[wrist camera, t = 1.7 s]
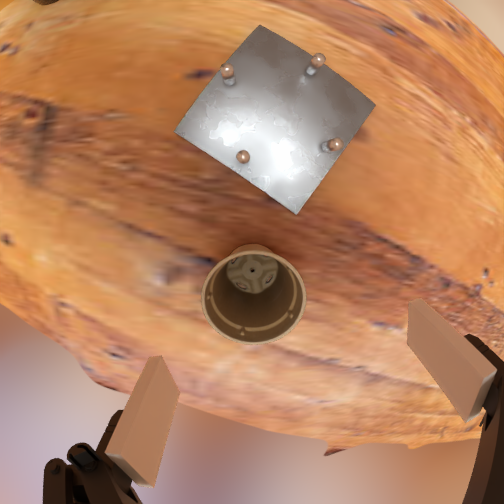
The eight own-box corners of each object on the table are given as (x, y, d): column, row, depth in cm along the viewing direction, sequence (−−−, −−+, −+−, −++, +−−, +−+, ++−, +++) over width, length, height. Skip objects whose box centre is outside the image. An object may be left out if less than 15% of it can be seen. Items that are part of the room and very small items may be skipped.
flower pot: (300, 235, 32) (317, 259, 24) (285, 309, 35) (294, 349, 26) (218, 223, 32) (206, 243, 23) (209, 299, 34) (197, 338, 26)
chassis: (176, 133, 29) (162, 127, 24) (259, 29, 25) (260, 7, 20) (294, 213, 31) (303, 221, 26) (371, 106, 28) (391, 98, 23)
